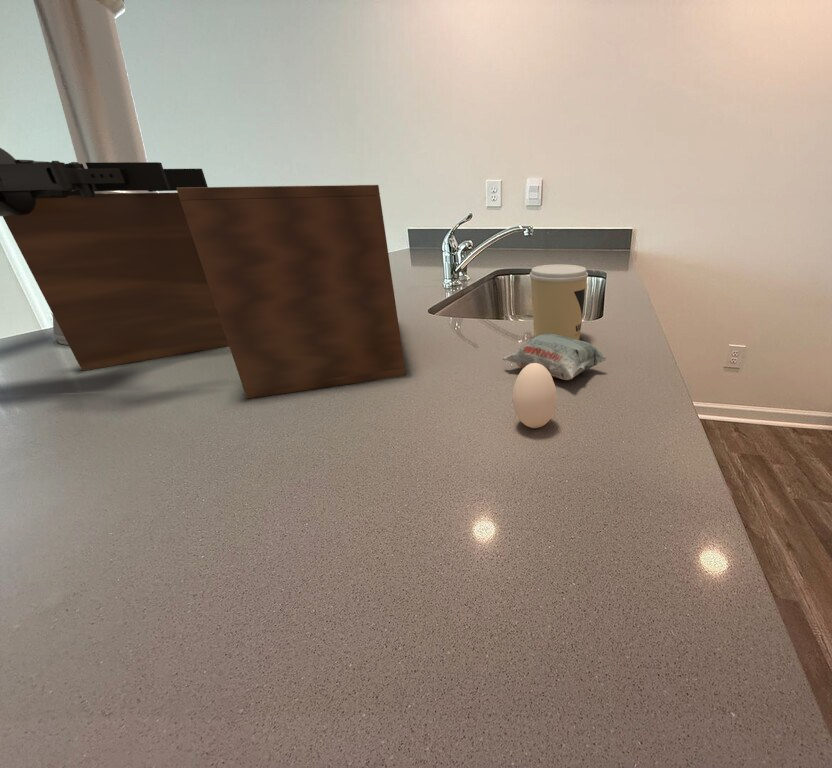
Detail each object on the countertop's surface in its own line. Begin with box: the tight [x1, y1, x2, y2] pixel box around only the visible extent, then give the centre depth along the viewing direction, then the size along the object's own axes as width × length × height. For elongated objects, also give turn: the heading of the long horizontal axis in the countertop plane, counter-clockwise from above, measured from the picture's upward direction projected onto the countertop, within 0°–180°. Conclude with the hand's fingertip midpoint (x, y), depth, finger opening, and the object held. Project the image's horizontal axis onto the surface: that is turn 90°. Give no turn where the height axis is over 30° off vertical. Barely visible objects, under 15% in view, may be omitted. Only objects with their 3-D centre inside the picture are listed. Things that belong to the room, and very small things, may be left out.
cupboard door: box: [2, 192, 229, 372], centre depth 65 cm, size 7×26×24 cm, turn 123°
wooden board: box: [176, 184, 407, 399], centre depth 61 cm, size 20×26×24 cm
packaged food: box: [502, 334, 607, 381], centre depth 57 cm, size 9×12×5 cm
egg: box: [512, 363, 558, 429], centre depth 43 cm, size 5×5×7 cm
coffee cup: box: [529, 263, 589, 340], centre depth 68 cm, size 9×9×12 cm
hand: (187, 177), depth 52 cm, fingers open, 13 cm apart
